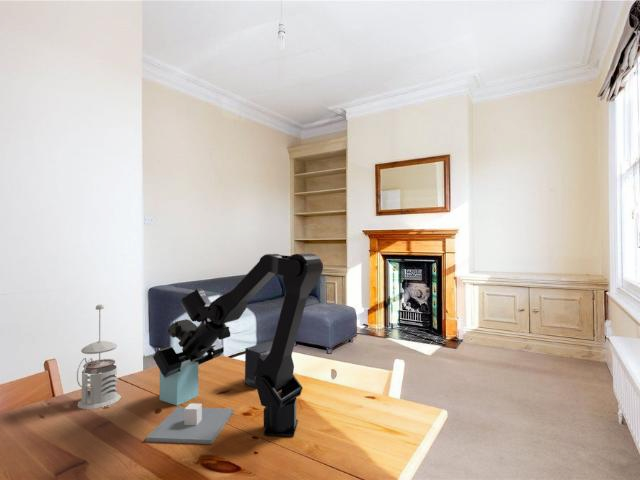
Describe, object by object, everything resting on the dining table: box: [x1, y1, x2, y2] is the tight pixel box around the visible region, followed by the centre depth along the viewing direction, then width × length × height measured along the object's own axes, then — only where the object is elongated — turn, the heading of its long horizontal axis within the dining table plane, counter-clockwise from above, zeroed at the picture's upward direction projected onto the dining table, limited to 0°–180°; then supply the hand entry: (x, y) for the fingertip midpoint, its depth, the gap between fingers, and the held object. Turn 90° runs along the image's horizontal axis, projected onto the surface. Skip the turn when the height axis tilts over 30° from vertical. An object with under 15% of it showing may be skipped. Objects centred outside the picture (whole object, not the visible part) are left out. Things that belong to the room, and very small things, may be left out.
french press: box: [76, 304, 122, 410], centre depth 93 cm, size 10×12×25 cm
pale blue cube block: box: [159, 360, 199, 406], centre depth 96 cm, size 7×7×9 cm
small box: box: [244, 340, 273, 389], centre depth 107 cm, size 11×6×10 cm, turn 143°
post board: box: [145, 403, 235, 445], centre depth 81 cm, size 14×14×4 cm
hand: (175, 371), depth 96 cm, fingers closed on pale blue cube block, 7 cm apart
